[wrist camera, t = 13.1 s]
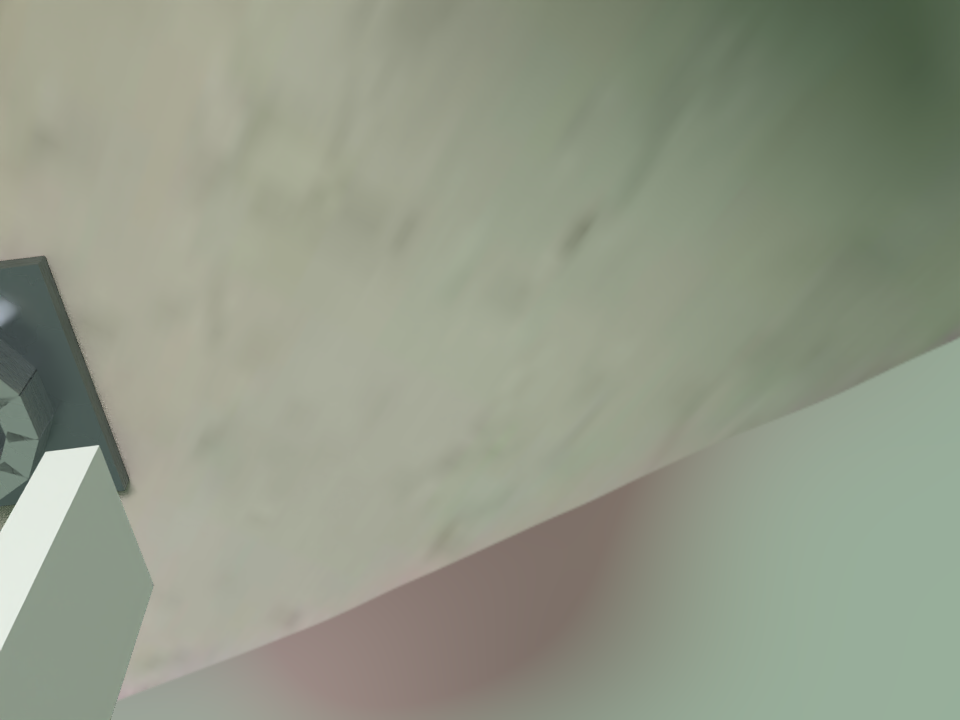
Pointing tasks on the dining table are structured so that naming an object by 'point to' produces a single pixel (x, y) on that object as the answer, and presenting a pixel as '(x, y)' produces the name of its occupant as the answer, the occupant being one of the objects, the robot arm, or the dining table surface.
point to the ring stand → (43, 381)
